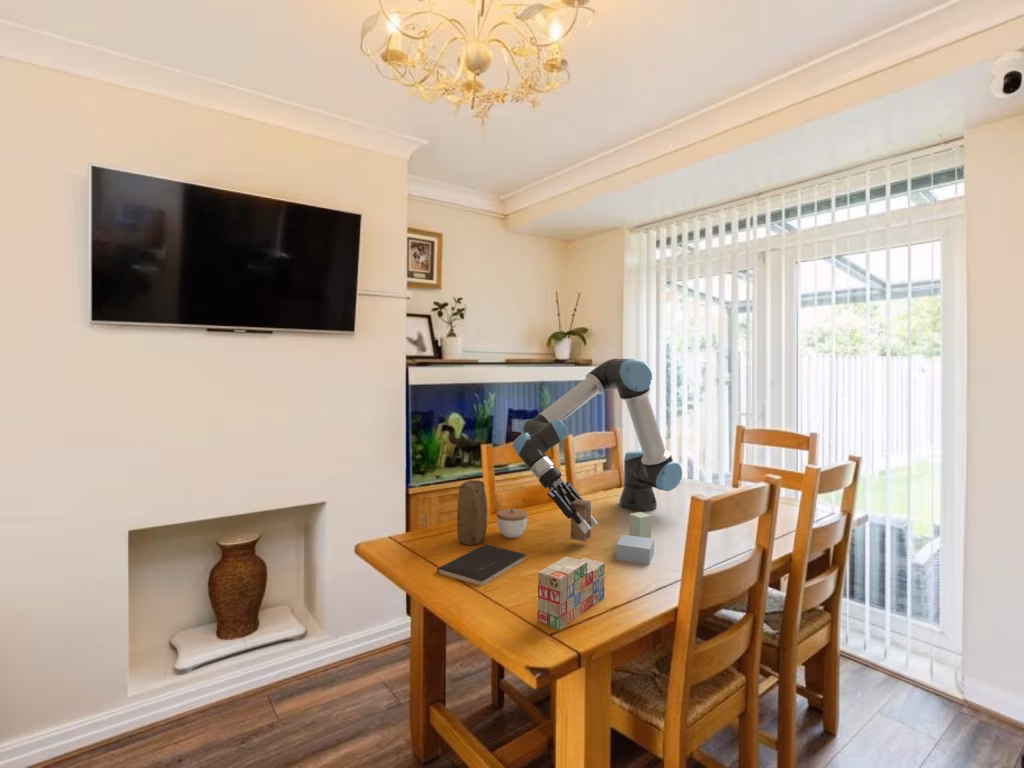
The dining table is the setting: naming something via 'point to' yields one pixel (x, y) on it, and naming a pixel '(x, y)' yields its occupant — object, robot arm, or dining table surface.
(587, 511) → the walnut block
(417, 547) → the dining table surface
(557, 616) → the stack of blocks
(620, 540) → the slate base block
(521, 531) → the lidded jar
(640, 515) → the sage block
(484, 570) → the hardcover book
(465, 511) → the block
